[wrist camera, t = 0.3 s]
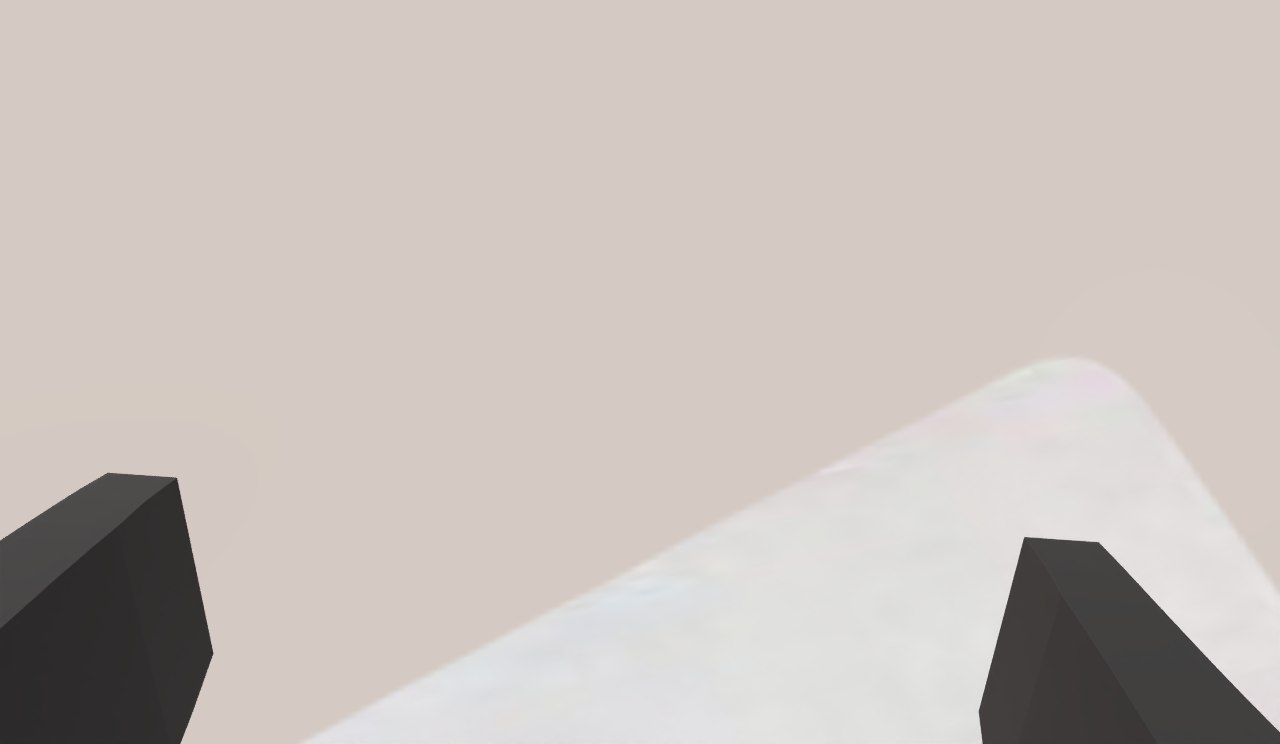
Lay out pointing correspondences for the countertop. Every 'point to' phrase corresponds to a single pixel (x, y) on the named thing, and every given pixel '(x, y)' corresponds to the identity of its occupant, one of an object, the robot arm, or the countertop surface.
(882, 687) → the countertop surface
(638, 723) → the countertop surface
